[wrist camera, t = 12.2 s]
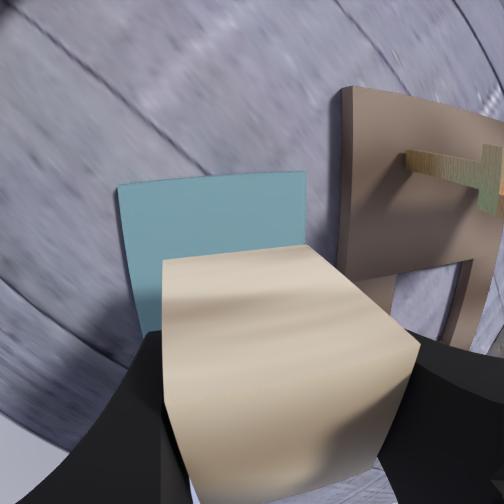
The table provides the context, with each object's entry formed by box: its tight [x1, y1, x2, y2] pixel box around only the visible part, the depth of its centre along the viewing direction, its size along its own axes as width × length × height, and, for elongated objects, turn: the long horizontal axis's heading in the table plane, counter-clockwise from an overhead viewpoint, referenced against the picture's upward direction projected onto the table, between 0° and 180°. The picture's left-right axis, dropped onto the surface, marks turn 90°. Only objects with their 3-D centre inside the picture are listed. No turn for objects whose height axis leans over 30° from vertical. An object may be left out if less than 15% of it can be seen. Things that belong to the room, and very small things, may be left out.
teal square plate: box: [117, 171, 306, 339], centre depth 15 cm, size 8×8×1 cm
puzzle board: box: [336, 86, 504, 351], centre depth 18 cm, size 19×14×1 cm
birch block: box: [162, 244, 421, 504], centre depth 8 cm, size 4×4×6 cm
